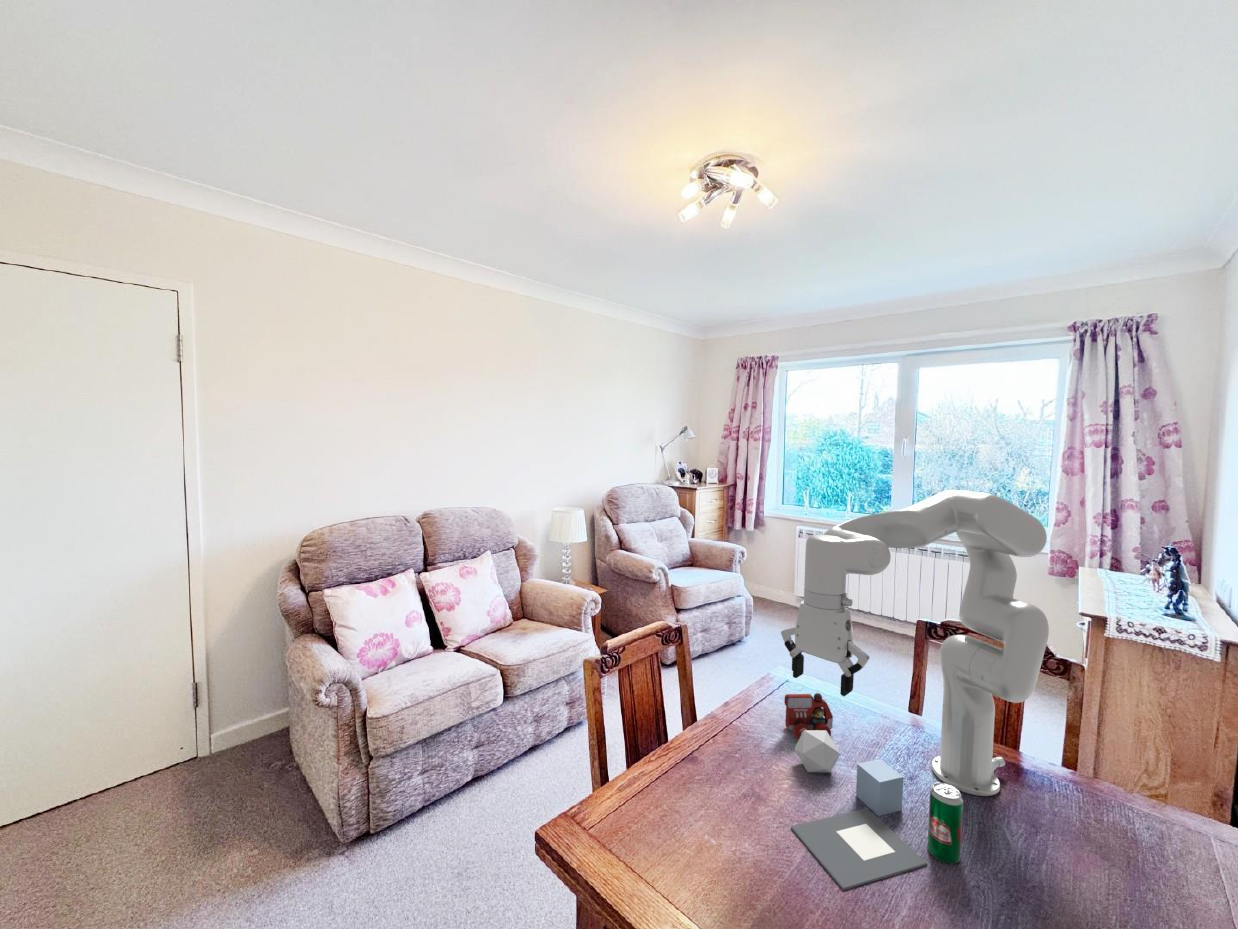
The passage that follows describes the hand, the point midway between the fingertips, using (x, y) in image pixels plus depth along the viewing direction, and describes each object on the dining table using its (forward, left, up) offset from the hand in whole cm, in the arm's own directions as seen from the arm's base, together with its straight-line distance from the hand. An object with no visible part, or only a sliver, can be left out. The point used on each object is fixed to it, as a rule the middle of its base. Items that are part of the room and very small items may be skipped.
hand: (821, 684), depth 100 cm
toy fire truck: (-17, -24, -27) cm, 40 cm away
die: (-10, -12, -27) cm, 31 cm away
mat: (-2, +9, -27) cm, 28 cm away
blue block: (-15, +1, -27) cm, 31 cm away
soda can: (-16, +15, -27) cm, 34 cm away
